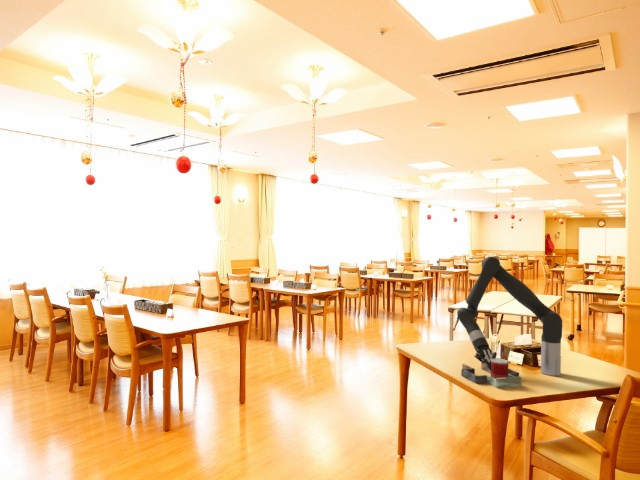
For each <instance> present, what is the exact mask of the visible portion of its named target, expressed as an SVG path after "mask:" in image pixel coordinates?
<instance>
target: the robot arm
mask: <svg viewBox="0 0 640 480" xmlns="http://www.w3.org/2000/svg"><path fill="white" fill-rule="evenodd" d="M493 278H494V279H495V280H496V281H497V282H498V283H499V284H500V285H501V286H502V287H503V288H504V289H505V290H506V292H507V293H509V295H511V296H512V297H513V298H514V299H515V301H517V302H519V303H520V305H522V306H524V307H525V308H527V310H529V311H530V312H532V313H533V314H534V316H536V318H537V319H538V320H539V321H540V322H541V324H542V334H541V336H540V337H541V340H540V342H541V343H540V345H541V346H540V347H541V349H540V373H542V374H544V375H547V376H552V377H557V376H558V377H560V376H561V373H562V372H561V371H562V370H561V368H562V355H561V354H562V353H561V352H562V351H561V350H562V349H561V347H562V345H561V344H562V337H563V319H562V317H561V316H560V315H559V314H558V313H557V312H556V311H554V310H552V309H551V308H549V307H548V306H547V305H546V304H544V303H543V302H542V301H541V300H540V299H539V297H538V296H537V295H536V294H535V293H534V291H532V290H531V288H529V286H527V285H526V284H525V283H524V282H522V281H521V280H520V279H518V277H515V276H514V275H512V274H511V273H509V272H508V271H507V270H506V269H505V268H504V267H503V266H502V265H501V262H500V259H498V258H497V257H495V256H488V257H485V258H483V260H482V261H481V271H480V274H479V276H478V278H477V280H476V282H475V283H474V284H473V286H472V288H471V290H470V292H469V293H468V294H467V295H468V296H467V297H466V300H465V304H467V307H460V308H458V310H457V312H456V313H457V314H456V315H457V318H458V320H459V321H460V323H461V325H462V326H463V327H464V328H465V330H466V333H467V334H468V337H469V339H470V341H471V342H470V343H471V344H472V346H473V348H474V350H475V351H476V353H475V354H474V358H476V359H477V360H478V361H479V362H481V363H483V364H484V363H485V364H487V366H488V368H489V369H490V370H491V359H495V358H497V354H498V353H497V352H496V351H493V350H492V349H491V348H490V345H489V343H488V340H487V338H486V336H485V335H484V333H483V331H482V330H481V327H480V326H479V324H478V323H477V322H476V321H475V318H476V316H477V313H478V308H479V305H480V303H481V300H482V298H483V297H484V294H485V292H486V290H487V288H488V286H489V285H490V283H491V280H492V279H493Z"/></svg>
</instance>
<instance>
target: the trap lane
mask: <svg viewBox="0 0 640 480" xmlns="http://www.w3.org/2000/svg"><path fill="white" fill-rule="evenodd" d="M461 366H462V369H461V375H460V376H461V377H463V378H464V379H466V380H469V381H470V382H473V384H477V385H479V384H489V385H490V386H493V387H494V388H496V389H504V388H506V387H507V388H514V387H521V385H522V376H520V372H518V371H515V370H513V369H511V368H508V377H504V378H496V379H495V378H493V377H491V375H488V374H484V375H476V373H475V372H476V369H475V368H474V367H473V366H469V365H467V364H465V363H462V364H461ZM480 367H481V370H483V371H485V372H487V373H490V374H491V370H490V369H489V368H488V366H487V364H485V363H484V364H483V363H482V362H481V366H480Z"/></svg>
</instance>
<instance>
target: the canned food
mask: <svg viewBox="0 0 640 480" xmlns="http://www.w3.org/2000/svg"><path fill="white" fill-rule="evenodd" d="M508 369H509V360H506V359H503V358H497V357H496V358H495V359H491V373H490V376H491V377H493V378H495V379H496V378H504V377H508Z"/></svg>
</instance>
